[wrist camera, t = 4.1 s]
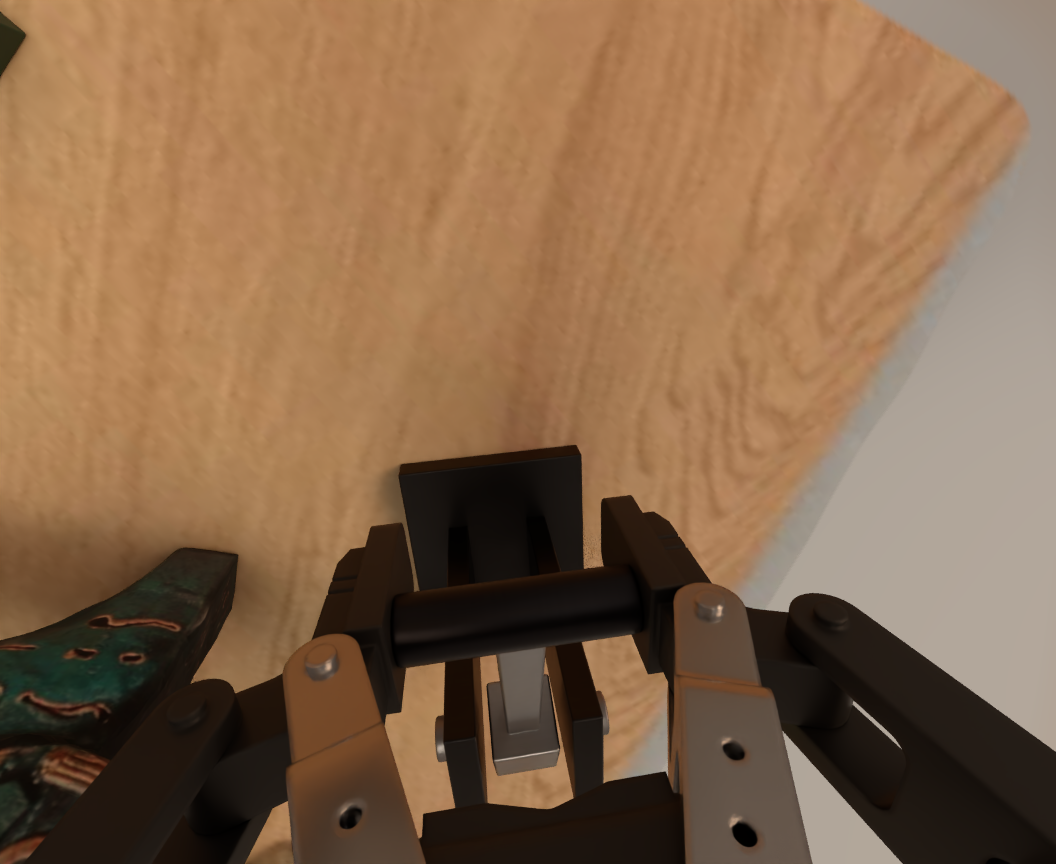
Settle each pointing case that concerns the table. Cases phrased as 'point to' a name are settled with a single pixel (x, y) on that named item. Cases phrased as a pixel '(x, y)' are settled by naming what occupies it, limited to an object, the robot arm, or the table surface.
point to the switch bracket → (497, 554)
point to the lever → (517, 643)
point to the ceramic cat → (98, 686)
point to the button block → (8, 40)
